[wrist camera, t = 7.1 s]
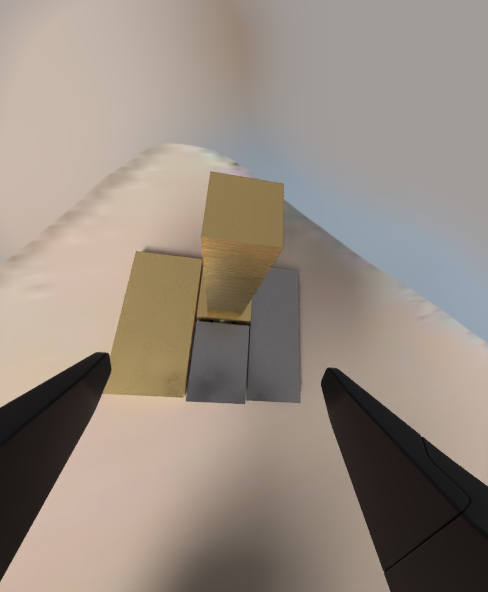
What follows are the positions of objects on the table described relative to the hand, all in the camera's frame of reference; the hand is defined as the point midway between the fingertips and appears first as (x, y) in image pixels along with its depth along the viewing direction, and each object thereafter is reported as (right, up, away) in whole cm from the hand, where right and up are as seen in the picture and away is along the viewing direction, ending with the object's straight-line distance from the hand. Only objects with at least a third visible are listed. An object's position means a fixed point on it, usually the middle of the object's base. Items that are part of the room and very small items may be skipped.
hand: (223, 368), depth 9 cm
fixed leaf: (+1, +1, +12) cm, 12 cm away
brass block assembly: (-4, +1, +11) cm, 11 cm away
